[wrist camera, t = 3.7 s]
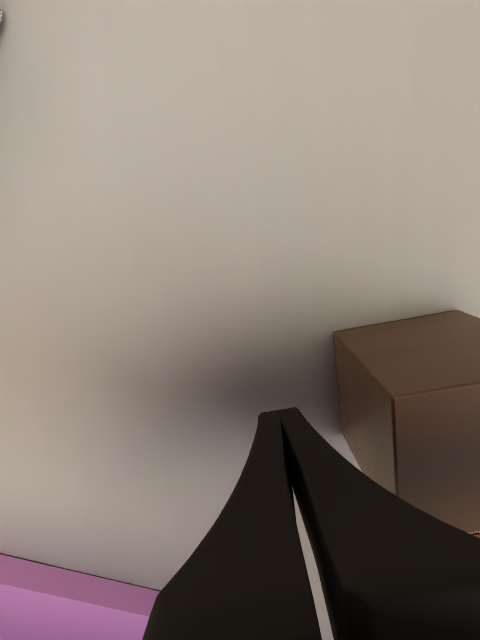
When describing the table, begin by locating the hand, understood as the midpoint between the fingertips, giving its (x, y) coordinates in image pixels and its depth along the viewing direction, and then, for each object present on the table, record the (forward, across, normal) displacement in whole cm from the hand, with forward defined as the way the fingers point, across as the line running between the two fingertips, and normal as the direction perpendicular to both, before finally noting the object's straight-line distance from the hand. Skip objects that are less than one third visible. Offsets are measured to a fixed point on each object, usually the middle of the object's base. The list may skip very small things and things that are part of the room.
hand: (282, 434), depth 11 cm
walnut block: (+2, -5, 0) cm, 6 cm away
